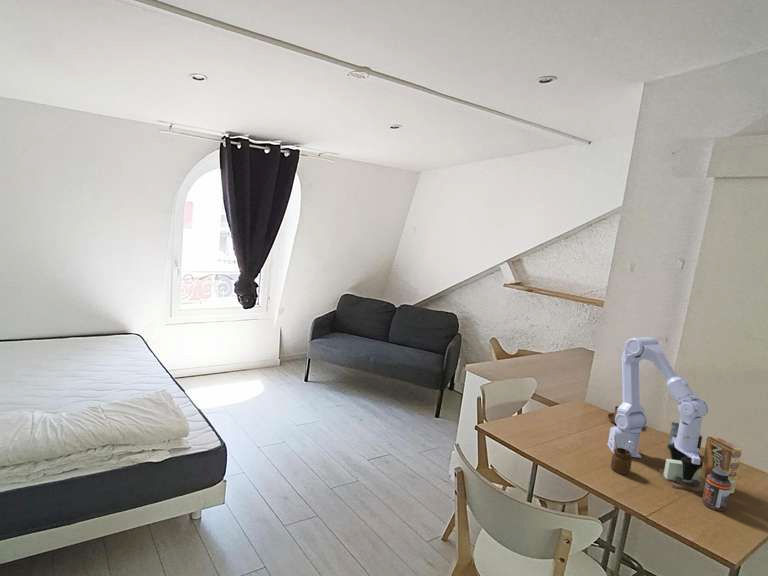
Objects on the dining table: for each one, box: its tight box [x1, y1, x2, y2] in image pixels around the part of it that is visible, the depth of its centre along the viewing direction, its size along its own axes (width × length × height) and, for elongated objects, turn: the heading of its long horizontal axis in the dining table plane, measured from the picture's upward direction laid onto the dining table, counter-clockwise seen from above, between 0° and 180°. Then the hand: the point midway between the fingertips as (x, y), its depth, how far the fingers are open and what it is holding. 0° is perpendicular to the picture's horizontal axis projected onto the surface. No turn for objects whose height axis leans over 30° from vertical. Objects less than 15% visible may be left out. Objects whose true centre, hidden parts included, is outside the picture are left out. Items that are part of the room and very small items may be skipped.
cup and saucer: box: [607, 405, 620, 424], centre depth 188 cm, size 12×12×6 cm
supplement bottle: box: [702, 468, 731, 512], centre depth 132 cm, size 6×6×11 cm
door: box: [663, 458, 701, 483], centre depth 144 cm, size 9×2×6 cm, turn 79°
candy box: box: [699, 436, 743, 495], centre depth 142 cm, size 9×4×15 cm, turn 13°
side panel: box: [658, 468, 706, 493], centre depth 145 cm, size 12×10×3 cm
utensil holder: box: [610, 435, 634, 475], centre depth 148 cm, size 6×6×12 cm
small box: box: [667, 421, 703, 459], centre depth 162 cm, size 11×6×10 cm, turn 168°
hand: (681, 473), depth 144 cm, fingers open, 7 cm apart
